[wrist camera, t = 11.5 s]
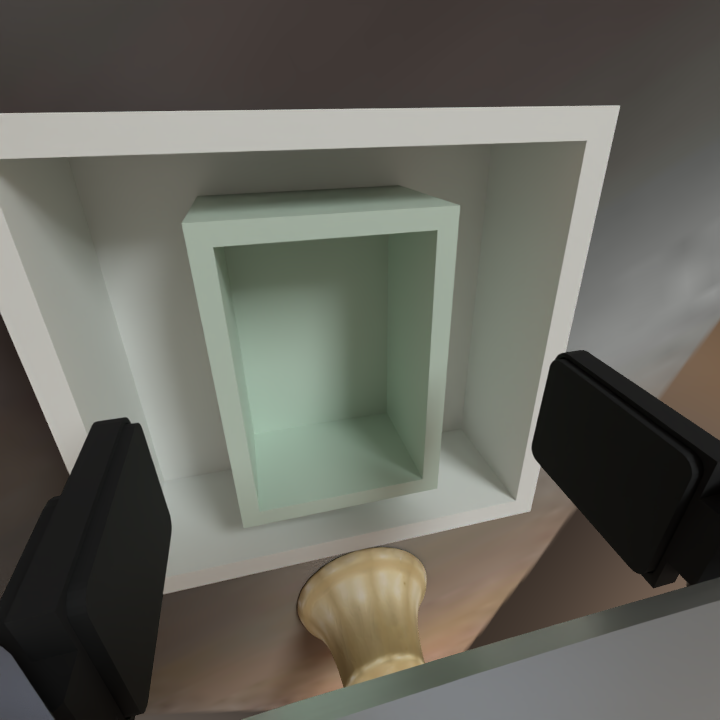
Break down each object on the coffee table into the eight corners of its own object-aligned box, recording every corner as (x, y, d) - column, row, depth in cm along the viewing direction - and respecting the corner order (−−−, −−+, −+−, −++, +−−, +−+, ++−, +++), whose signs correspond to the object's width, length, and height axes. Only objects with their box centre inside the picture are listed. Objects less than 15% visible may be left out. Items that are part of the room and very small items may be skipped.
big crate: (38, 120, 13) (-86, 113, 8) (500, 113, 17) (620, 105, 12) (152, 482, 20) (124, 603, 15) (465, 427, 23) (530, 511, 18)
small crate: (197, 195, 15) (181, 223, 10) (399, 185, 16) (460, 205, 12) (241, 439, 19) (243, 528, 15) (395, 413, 21) (437, 488, 16)
